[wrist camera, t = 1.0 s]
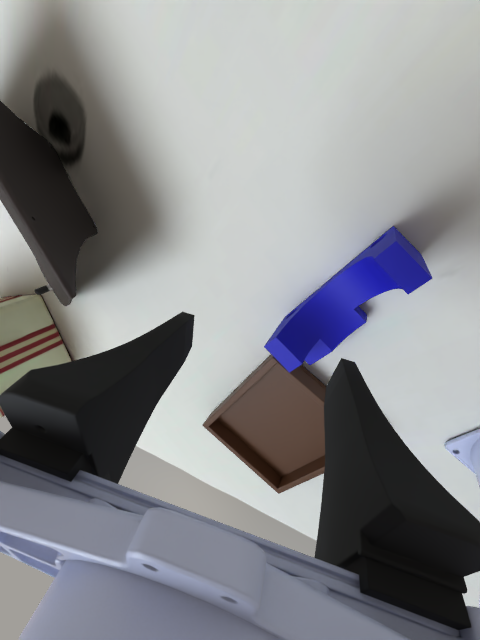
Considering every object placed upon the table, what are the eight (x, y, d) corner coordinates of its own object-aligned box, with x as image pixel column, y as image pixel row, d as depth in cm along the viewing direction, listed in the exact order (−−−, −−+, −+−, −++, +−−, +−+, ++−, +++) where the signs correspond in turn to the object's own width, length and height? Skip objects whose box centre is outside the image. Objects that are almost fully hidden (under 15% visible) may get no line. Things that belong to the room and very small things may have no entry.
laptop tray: (28, 144, 40) (-52, 156, 36) (1, -15, 21) (-177, -33, 17) (109, 290, 46) (50, 315, 42) (146, 269, 27) (43, 312, 22)
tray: (378, 430, 29) (377, 448, 27) (283, 478, 39) (278, 494, 37) (279, 345, 30) (272, 357, 28) (211, 413, 39) (202, 425, 37)
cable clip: (316, 349, 28) (302, 385, 23) (284, 317, 28) (264, 346, 23) (435, 268, 21) (450, 297, 16) (393, 225, 21) (396, 240, 16)
